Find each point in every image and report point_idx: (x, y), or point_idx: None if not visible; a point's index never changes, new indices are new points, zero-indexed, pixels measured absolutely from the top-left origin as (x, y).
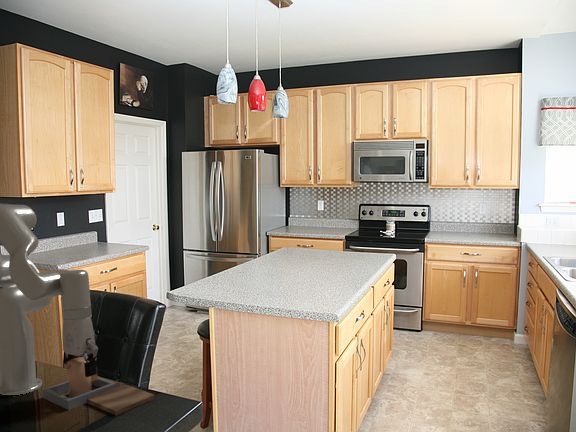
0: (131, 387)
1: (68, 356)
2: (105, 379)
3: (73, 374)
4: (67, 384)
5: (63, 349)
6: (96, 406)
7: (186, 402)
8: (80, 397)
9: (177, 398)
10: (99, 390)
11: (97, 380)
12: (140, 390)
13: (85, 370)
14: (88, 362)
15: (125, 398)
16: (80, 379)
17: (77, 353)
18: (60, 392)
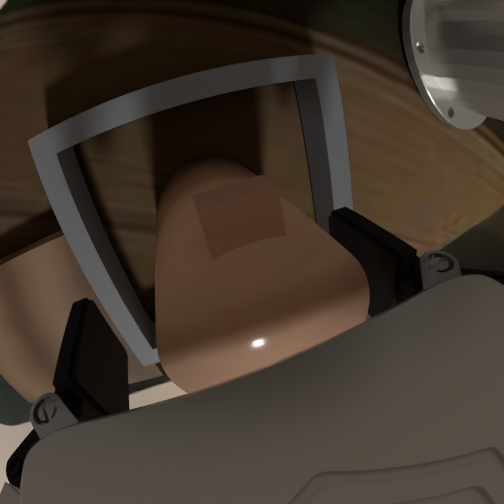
0: None
1: (419, 274)
2: None
3: (175, 229)
4: (326, 179)
5: (489, 287)
6: (19, 250)
7: (5, 417)
8: (53, 205)
9: (29, 417)
10: (100, 299)
11: None
12: None
13: (67, 333)
14: (43, 406)
15: (20, 348)
16: (155, 254)
17: (53, 460)
18: (305, 136)
